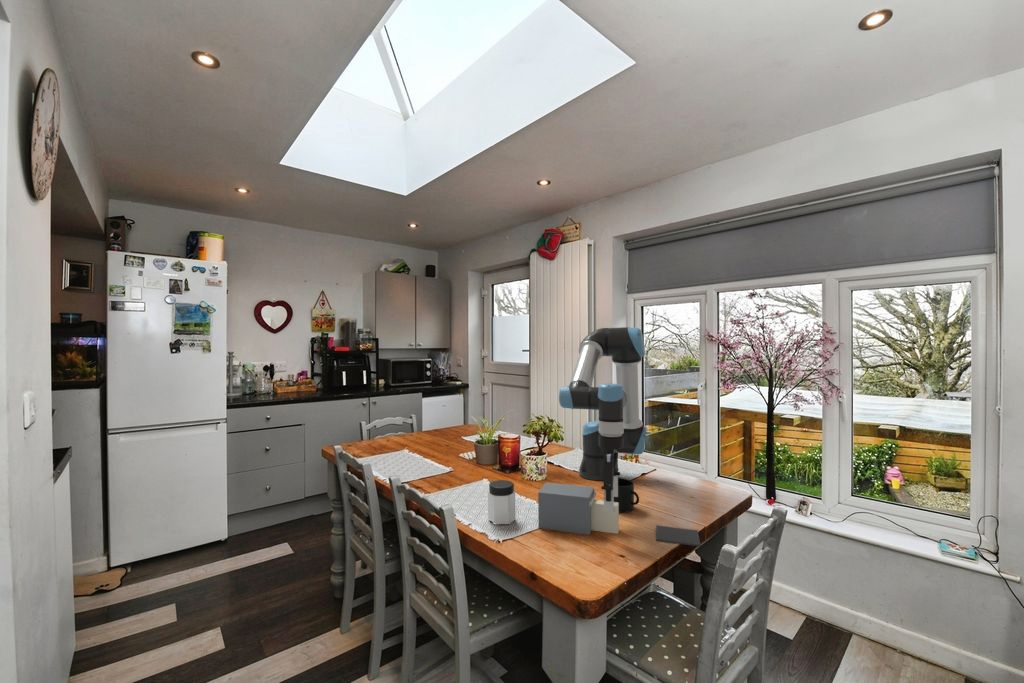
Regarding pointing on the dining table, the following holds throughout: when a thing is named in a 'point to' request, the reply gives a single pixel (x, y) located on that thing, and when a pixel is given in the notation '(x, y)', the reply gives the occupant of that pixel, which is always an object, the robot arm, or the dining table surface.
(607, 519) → the cream upright slab
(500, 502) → the jar
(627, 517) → the dining table surface
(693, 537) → the mat
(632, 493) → the mug
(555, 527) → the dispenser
